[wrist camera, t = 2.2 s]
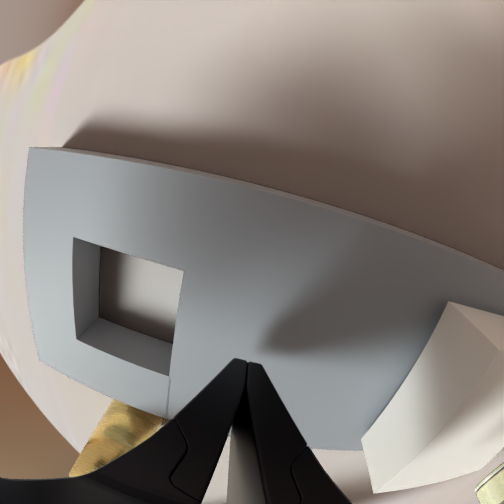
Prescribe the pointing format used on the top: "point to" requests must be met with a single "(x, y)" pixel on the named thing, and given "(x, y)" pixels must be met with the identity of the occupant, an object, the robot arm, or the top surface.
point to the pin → (115, 436)
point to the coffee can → (492, 487)
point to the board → (236, 289)
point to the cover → (443, 406)
